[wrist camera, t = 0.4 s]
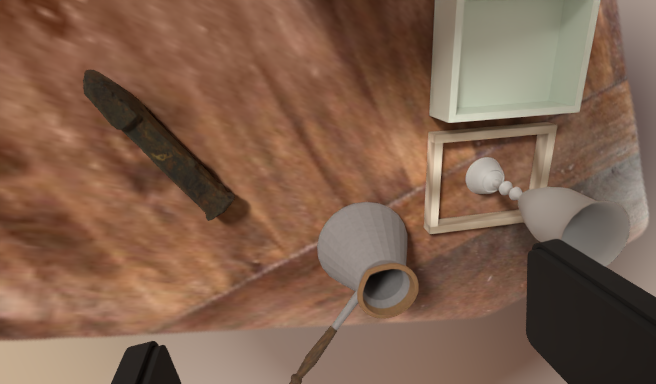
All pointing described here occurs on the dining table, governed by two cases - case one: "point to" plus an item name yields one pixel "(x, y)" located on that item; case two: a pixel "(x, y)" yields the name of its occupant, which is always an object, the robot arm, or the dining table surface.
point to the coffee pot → (364, 266)
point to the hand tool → (156, 143)
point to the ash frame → (437, 138)
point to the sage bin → (509, 57)
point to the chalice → (559, 213)
